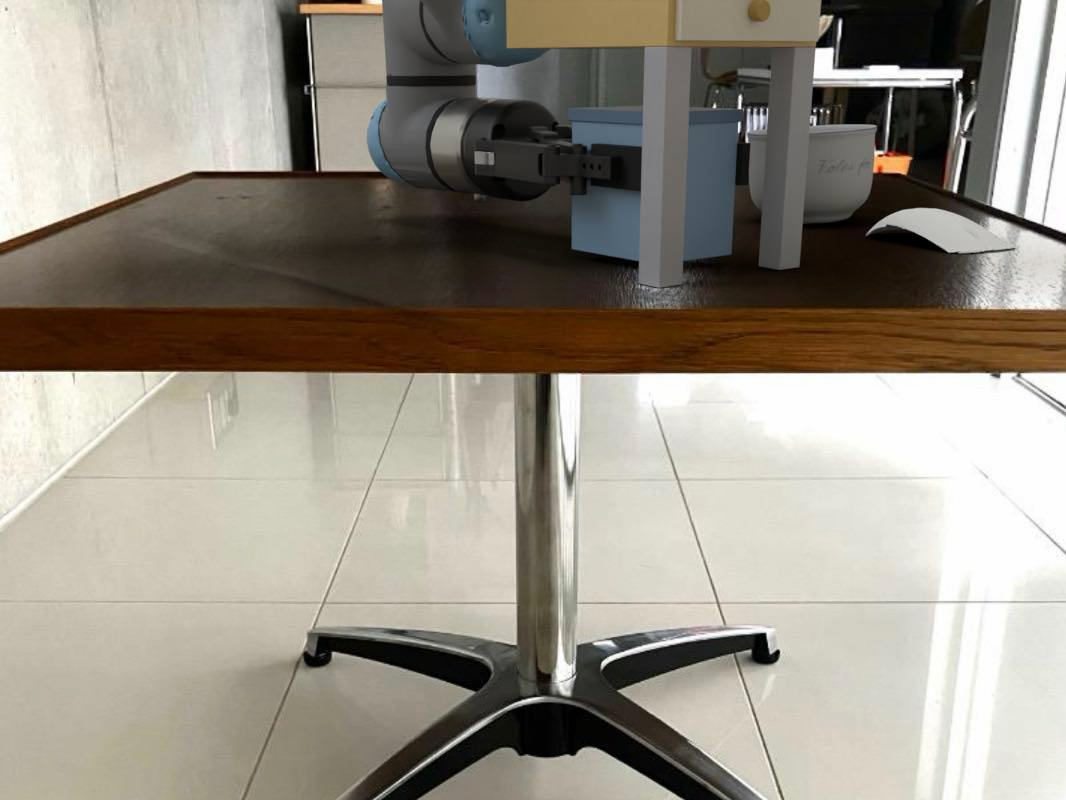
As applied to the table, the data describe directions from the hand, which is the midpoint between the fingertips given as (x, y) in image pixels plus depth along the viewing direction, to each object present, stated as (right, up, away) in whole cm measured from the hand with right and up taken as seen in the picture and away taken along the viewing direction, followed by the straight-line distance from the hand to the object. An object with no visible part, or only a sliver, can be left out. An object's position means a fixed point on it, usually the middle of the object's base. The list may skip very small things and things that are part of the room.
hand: (703, 167), depth 80 cm
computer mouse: (+20, -1, +15) cm, 25 cm away
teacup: (+13, +4, +28) cm, 32 cm away
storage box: (-3, -4, +6) cm, 8 cm away
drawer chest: (-3, -5, +6) cm, 8 cm away
